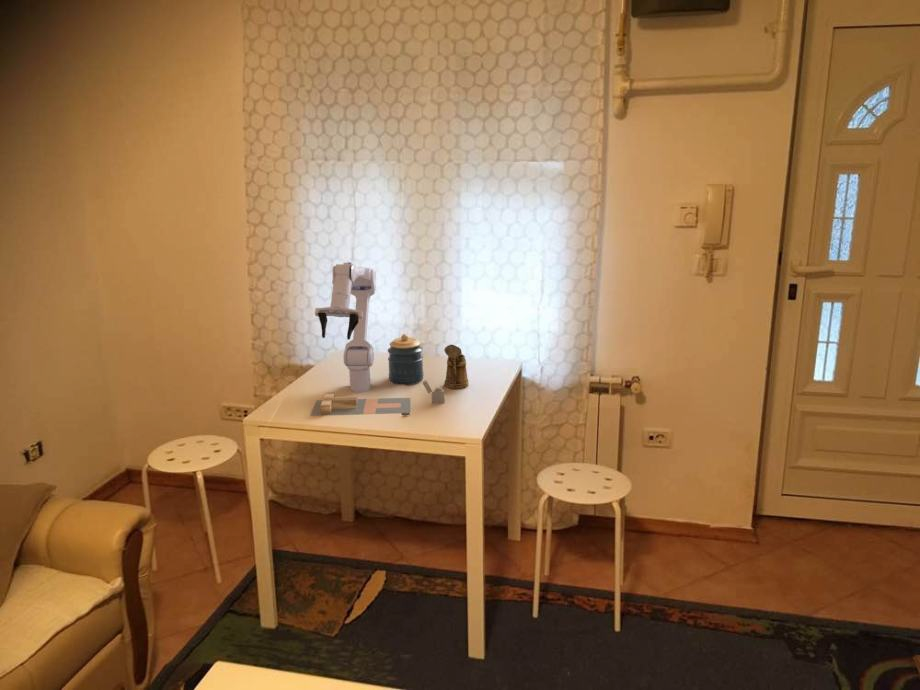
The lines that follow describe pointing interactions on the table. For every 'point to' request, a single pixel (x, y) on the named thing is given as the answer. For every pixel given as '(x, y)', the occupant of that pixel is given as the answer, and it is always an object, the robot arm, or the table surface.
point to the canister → (405, 361)
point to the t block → (337, 403)
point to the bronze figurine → (455, 368)
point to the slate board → (369, 407)
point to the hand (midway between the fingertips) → (335, 337)
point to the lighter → (435, 394)
